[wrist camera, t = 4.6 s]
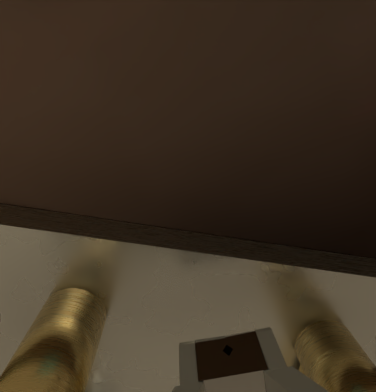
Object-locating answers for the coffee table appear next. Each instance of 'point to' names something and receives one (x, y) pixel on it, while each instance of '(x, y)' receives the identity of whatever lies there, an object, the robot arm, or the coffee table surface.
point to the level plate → (172, 290)
